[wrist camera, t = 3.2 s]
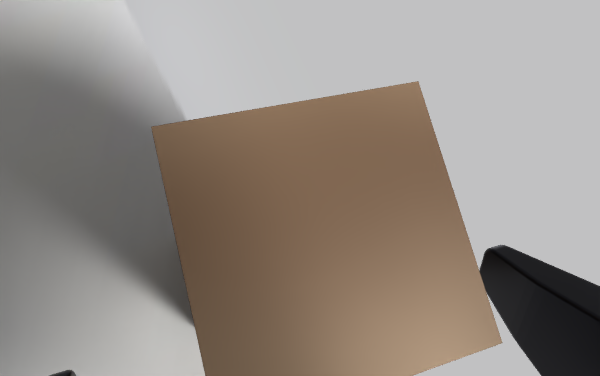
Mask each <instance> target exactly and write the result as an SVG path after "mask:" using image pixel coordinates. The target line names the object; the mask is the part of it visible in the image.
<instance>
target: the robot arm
mask: <svg viewBox="0 0 600 376" xmlns="http://www.w3.org/2000/svg"><path fill="white" fill-rule="evenodd" d="M479 272H480V275H481V278H482V281H483V284H484V287H485V290H486V293H487V294H488V296H489V297H490V299H491V301H492V302H493V304H494V306H495V308H496V309H497V311H498V313H499V314H500V316H501V318H502V319H503V321H504V323H505V324H506V326H507V328H508V329H509V331H510V333H511V334H512V336H513V337H514V339H515V340H516V341H517V343H518V345H519V346H520V347H521V349H522V350H523V351H524V353H525V354H526V356H527V357H528V358H529V360H530V361H531V362H532V364H533V365H534V366H535V368H536V369H537V371H538V372H539V373H540V375H541V376H600V286H598V285H596V284H593V283H591V282H589V281H586V280H584V279H582V278H579V277H577V276H575V275H573V274H570V273H568V272H566V271H563V270H561V269H559V268H556V267H554V266H552V265H549V264H547V263H544V262H543V261H540V260H538V259H536V258H533V257H531V256H529V255H526V254H524V253H522V252H519V251H517V250H515V249H513V248H510V247H508V246H505V245H498V246H495V247H492V248H489V249H487V250H486V251H485V253H484V257H483V260H482V264H481V267H480V271H479ZM50 376H76V374H75V373H74V372H73V371H72V370H66V371H63V372H59V373H56V374H52V375H50Z"/></svg>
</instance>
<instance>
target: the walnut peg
mask: <svg viewBox="0 0 600 376" xmlns="http://www.w3.org/2000/svg"><path fill="white" fill-rule="evenodd" d="M151 128H152V133H153V138H154V142H155V147H156V151H157V156H158V160H159V165H160V170H161V174H162V179H163V183H164V188H165V192H166V197H167V202H168V206H169V211H170V215H171V220H172V225H173V229H174V234H175V238H176V243H177V247H178V252H179V257H180V261H181V266H182V270H183V275H184V280H185V284H186V289H187V293H188V298H189V302H190V307H191V312H192V316H193V321H194V325H195V330H196V334H197V339H198V344H199V348H200V353H201V357H202V362H203V367H204V371H205V376H413V375H416V374H418V373H421V372H424V371H427V370H429V369H432V368H435V367H437V366H440V365H443V364H446V363H448V362H451V361H454V360H457V359H460V358H462V357H465V356H468V355H471V354H473V353H476V352H479V351H482V350H485V349H487V348H490V347H493V346H496V345H498V344H501V343H502V341H501V337H500V334H499V331H498V328H497V325H496V322H495V318H494V315H493V312H492V309H491V306H490V303H489V300H488V297H487V294H486V290H485V287H484V284H483V281H482V278H481V275H480V272H479V269H478V266H477V263H476V259H475V256H474V253H473V250H472V247H471V244H470V241H469V238H468V235H467V232H466V228H465V225H464V222H463V219H462V216H461V213H460V210H459V206H458V203H457V200H456V198H455V194H454V191H453V188H452V185H451V182H450V179H449V176H448V172H447V169H446V166H445V163H444V160H443V157H442V154H441V151H440V147H439V144H438V141H437V138H436V135H435V132H434V129H433V126H432V123H431V120H430V116H429V113H428V110H427V107H426V104H425V101H424V98H423V95H422V92H421V88H420V86H419V82H418V81H417V82H411V83H406V84H400V85H394V86H388V87H383V88H376V89H370V90H364V91H359V92H353V93H347V94H341V95H335V96H329V97H323V98H318V99H311V100H306V101H300V102H294V103H288V104H282V105H276V106H271V107H265V108H259V109H253V110H247V111H241V112H235V113H229V114H223V115H217V116H212V117H206V118H200V119H194V120H188V121H182V122H176V123H170V124H164V125H159V126H153V127H151Z"/></svg>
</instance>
